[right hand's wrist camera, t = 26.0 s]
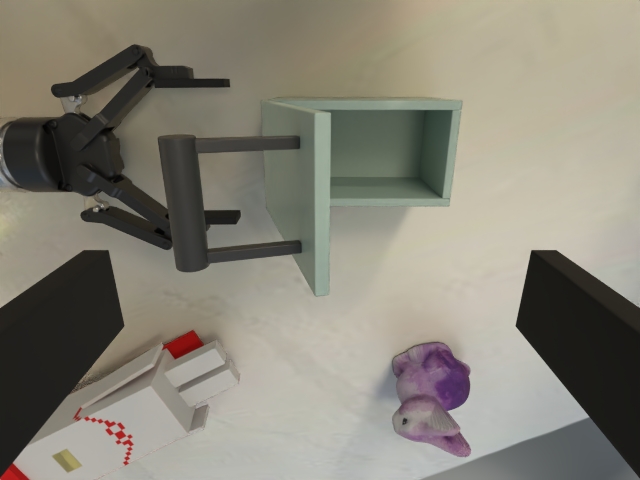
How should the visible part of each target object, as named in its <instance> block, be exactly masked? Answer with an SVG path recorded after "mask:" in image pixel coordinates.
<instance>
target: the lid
mask: <svg viewBox="0 0 640 480" xmlns="http://www.w3.org/2000/svg"><path fill="white" fill-rule="evenodd" d="M261 115H262V135H263V136H255V137H222V138H196V136H194V135H165V136H160V137H158V144H159V151H160V158H161V165H162V172H163V179H164V186H165V193H166V200H167V207H168V214H169V221H170V228H171V235H172V242H173V249H174V256H175V263H176V268H177V270H179V271H182V272H196V271H200V270H203V269H205V268H207V267H208V266H209V264H210V263H217V262H226V261H235V260H245V259H254V258H263V257H272V256H281V255H290V254H292V255H293V257H294V259H295V261H296V263H297V264H298V266H299V268H300V270H301V272H302V274H303V275H304V277H305V279H306V281H307V283H308V284H309V286H310V288H311V290H312V292H313V293H314V295H315V296H316V297H317V296H324V295H329V251H330V158H331V113H329V112H325V111H320V110H315V109H310V108H305V107H300V106H295V105H290V104H285V103H280V102H275V101H270V100H264V101H261ZM242 151H263V155H264V175H265V195H266V208H267V210H268V212H269V214H270V216H271V217H272V219H273V221H274V223H275V225H276V226H277V228H278V230H279V232H280V234H281V235H282V237H283V239H284V241H281V242H271V243H261V244H251V245H241V246H231V247H221V248H211V249H208V243H207V234H206V225H205V216H204V207H203V198H202V188H201V179H200V170H199V161H198V153H217V152H242Z"/></svg>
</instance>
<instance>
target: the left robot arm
mask: <svg viewBox="0 0 640 480" xmlns="http://www.w3.org/2000/svg"><path fill="white" fill-rule="evenodd" d="M137 67H138V68H139V70H138V72H137V73H136V74H135V75H134V76H133V77H132V78H131V79H130V80H129V81H128V82H127V84H126V85H125V86H124V87H123V88H122V89H121V90H120V91H119V92H118V93H117V94H116V96H115V97H114V98H113V99H112V100H111V101H110V102H109V103H108V104H107V105H106V106H105V107H104V109H103V110H102V111H101V112H100V113H98V114H97V115H95V116H94V117H93V118H92V119H91V118H90V117H88V116H87V115H85V114H84V113H81V112H80V106H81V105H83V104H85V103H86V101H87V96H86V95H91V94H94V93H96V92H98V91H99V90H101V89H103V88H104V87H106V86H108V85H109V84H111V83H113V82H114V81H116V80H118V79H119V78H121V77H123V76H124V75H126V74H128V73H129V72H131V71H133V70H134V69H136V68H137ZM154 85H155V88H202V87H230V80H229V79H194V77H193V69H192V68H189V67H187V66H159V65H158V64H157V63H156V62H155V60H154V58H153V53H152V50H151V49H150V48H148V47H144V46H140V45H135V44H134V45H132V46H130V47H128V48H127V49H125V50H123V51H122V52H120V53H119V54H117V55H115V56H114V57H112V58H110V59H109V60H107V61H106V62H104V63H102V64H101V65H99V66H97V67H96V68H94V69H93V70H91V71H89V72H88V73H86V74H85V75H83V76H81V77H80V78H78V79H76V80H75V81H73V82H68V83H61V84H55V85H53V86H52V88H51V91H52V94H53V95H54V96H55V97H58V98H60V99H61V102H62V105H63V108H64V111H65V114H64V115H63V116H61V117H35V118H19V119H17V118H0V192H30V191H31V192H76V193H79V194H81V195H83V196H84V201H85V211H83V212H82V213H81V218H82V220H84V221H86V222H95V223H103V224H106V225H108V226H110V227H113V228H115V229H117V230H120V231H122V232H125V233H127V234H129V235H132V236H134V237H136V238H139V239H141V240H143V241H146V242H148V243H151V244H153V245H155V246H158V247H160V248H162V249H165V250H169V249H171V248H172V247H173V242H172V235H171V228H170V221H169V214H168V209H167V208H165V207H164V206H163V205H161V204H160V203H158V202H157V201H156V200H154V199H153V198H151V197H150V196H149V195H147V194H146V193H145V192H143V191H142V190H140V189H139V188H138V187H136V186H135V185H133V184H132V181H131V180H130V179H128V178H127V177H126V176H124V175H123V174H122V173H121V172H122V169H123V168H124V164H123V160H122V158H121V155H120V142H119V138H116V136H115V135H114V134H113V133H112V132H113V131H114V130H115V129H116V127H117V126H118V125H119V124H120V123H121V120H122V119H123V118H124V117H125V116H126V115H127V114H128V113H129V112H130V111H131V110H132V109H133V107H134V106H135V105H136V104H137V103H138V102H139V101H140V100H141V99H142V98H143V97H144V96H145V95H146V94H147V93H148V92H149V91H150V89H151V88H152V87H153V86H154ZM101 191H103V192H105V193H106V194H108V195H109V196H111V197H114V198H117V199H119V200H120V201H122V202H123V203H125V204H126V205H127V206H129V207H130V208H132V209H133V210H134V211H136V212H137V213H139V214H140V215H142V216H143V217H144V218H146V219H147V220H149V221H147V220H145V219H143V218H141V217H138V216H136V215H134V214H131V213H129V212H127V211H124V210H122V209H119V208H117V207H113V206H109V203H108V202H107V201H103V200H101V199H100V198H99V197H98V193H100V192H101ZM204 216H205V225H206V231H207V230H208V229H209V228H210V225H214V224H237V222H238V220H239V219H240V217H241V212H240V210H204Z"/></svg>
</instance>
